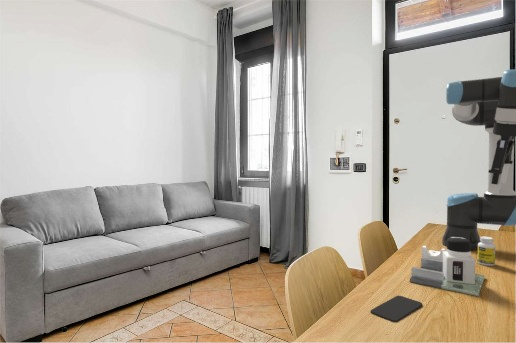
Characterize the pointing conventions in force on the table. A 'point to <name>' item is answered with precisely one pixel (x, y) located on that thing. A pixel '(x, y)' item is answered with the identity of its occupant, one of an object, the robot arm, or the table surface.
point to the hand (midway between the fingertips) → (497, 187)
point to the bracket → (432, 254)
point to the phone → (396, 308)
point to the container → (458, 261)
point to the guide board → (442, 278)
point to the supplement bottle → (486, 251)
